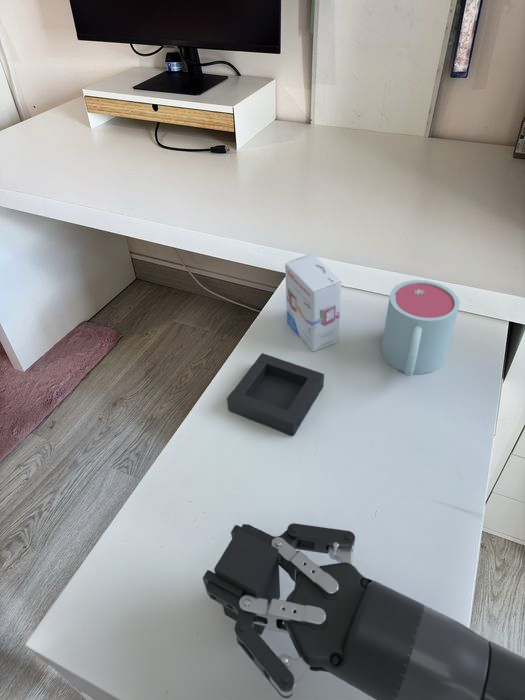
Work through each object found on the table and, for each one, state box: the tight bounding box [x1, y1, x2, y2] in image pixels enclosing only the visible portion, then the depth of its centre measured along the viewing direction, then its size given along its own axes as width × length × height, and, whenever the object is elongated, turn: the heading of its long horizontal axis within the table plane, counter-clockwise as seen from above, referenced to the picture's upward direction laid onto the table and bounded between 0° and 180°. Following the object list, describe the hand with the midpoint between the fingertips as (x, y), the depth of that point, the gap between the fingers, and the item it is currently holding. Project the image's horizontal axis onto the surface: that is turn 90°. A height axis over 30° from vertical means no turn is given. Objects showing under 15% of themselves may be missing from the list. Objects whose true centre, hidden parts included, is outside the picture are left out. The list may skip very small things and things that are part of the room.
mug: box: [380, 279, 460, 377], centre depth 71 cm, size 14×9×10 cm
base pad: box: [226, 352, 325, 437], centre depth 70 cm, size 10×10×3 cm
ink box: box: [284, 253, 342, 352], centre depth 76 cm, size 9×5×12 cm, turn 27°
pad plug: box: [213, 529, 281, 636], centre depth 45 cm, size 4×4×10 cm
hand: (220, 555), depth 44 cm, fingers closed on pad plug, 4 cm apart
